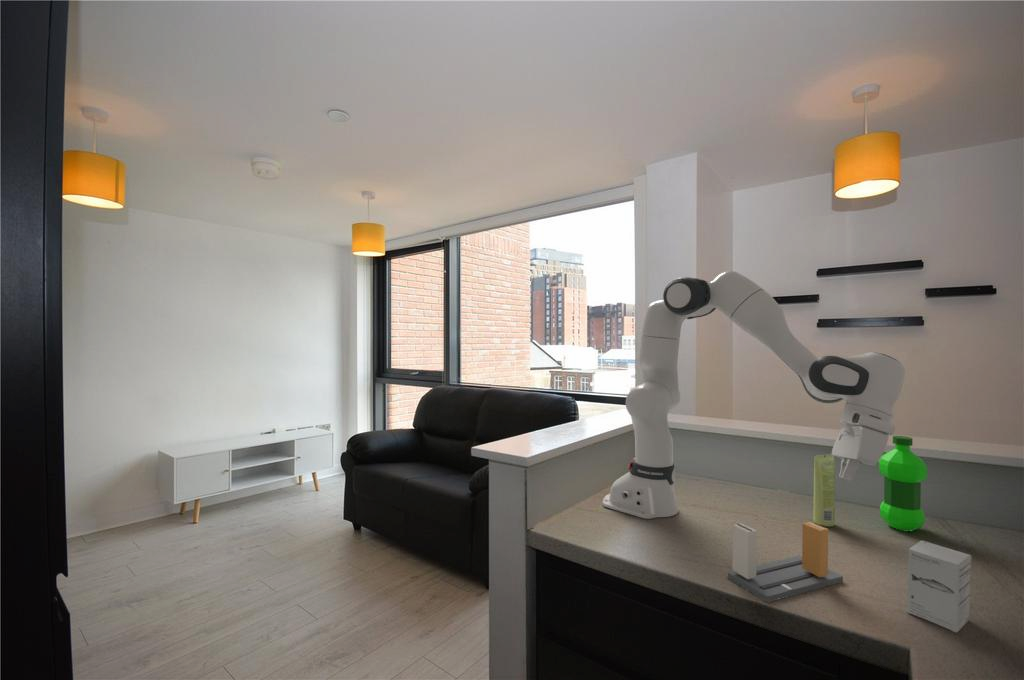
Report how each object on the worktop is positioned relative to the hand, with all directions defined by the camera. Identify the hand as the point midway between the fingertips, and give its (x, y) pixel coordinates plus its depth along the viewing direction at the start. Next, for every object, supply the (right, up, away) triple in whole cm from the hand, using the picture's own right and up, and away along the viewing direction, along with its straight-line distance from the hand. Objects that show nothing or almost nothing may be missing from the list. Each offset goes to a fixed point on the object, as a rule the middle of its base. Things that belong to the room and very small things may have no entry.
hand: (844, 479), depth 104 cm
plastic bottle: (+32, -20, +22) cm, 44 cm away
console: (-16, -21, -5) cm, 27 cm away
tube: (+12, -20, +25) cm, 34 cm away
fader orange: (-10, -19, -5) cm, 22 cm away
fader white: (-26, -19, -5) cm, 32 cm away
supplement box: (+5, -21, -18) cm, 28 cm away
